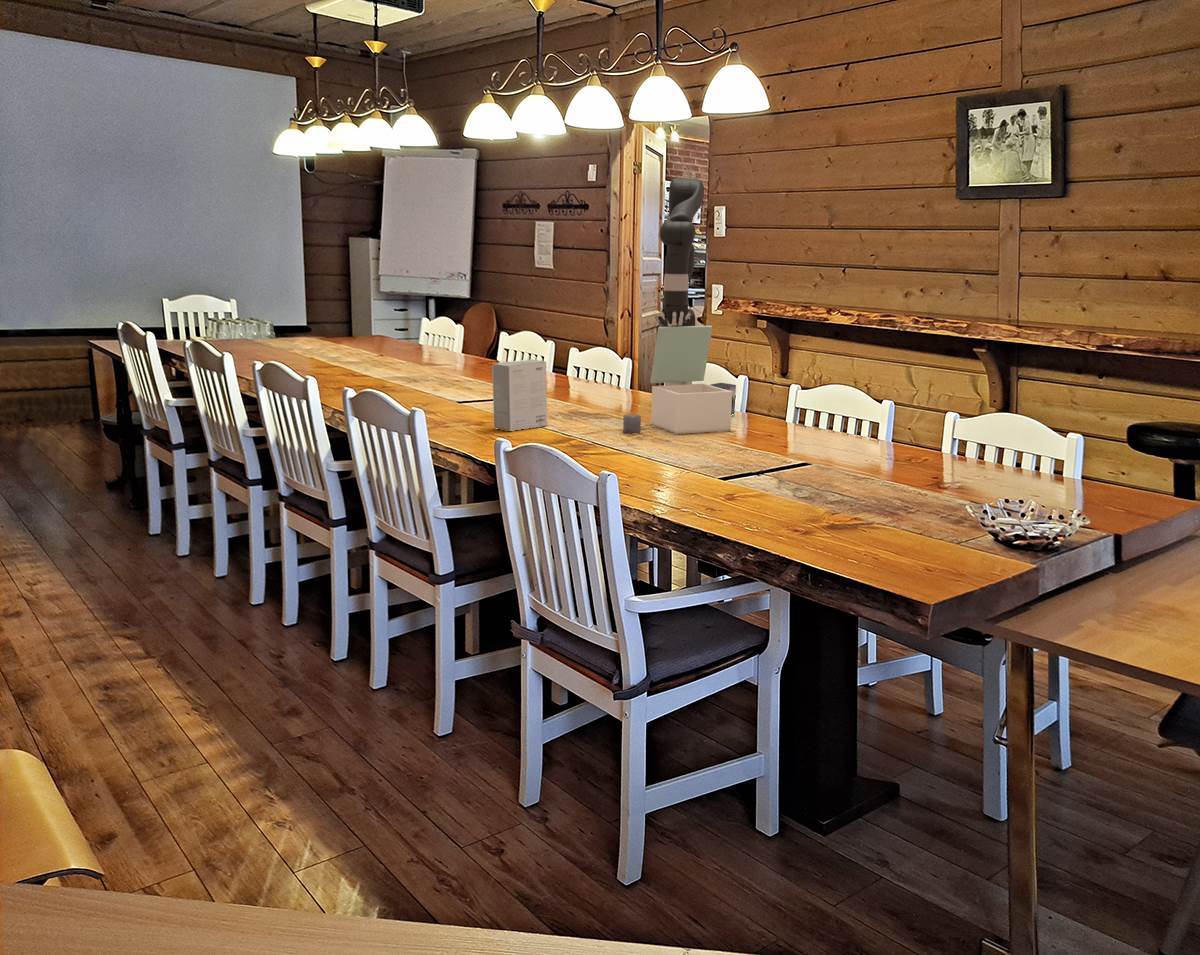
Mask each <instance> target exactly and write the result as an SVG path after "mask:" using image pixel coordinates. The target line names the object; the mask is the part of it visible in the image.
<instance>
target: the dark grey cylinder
mask: <svg viewBox="0 0 1200 955" xmlns="http://www.w3.org/2000/svg"><path fill="white" fill-rule="evenodd" d="M641 419H642V415H640V414H634V413H633V414H631V413H630V414H624V415H623V419H622V420H623V422H622V423H623V424H622V427H623V428H622V430H623V431H622V433H623V432H624V433H623V434H626V433H630V434H629V435H634V434H633V433H638V434H641V433H640V432H642V429H641V427H642V426H641V425H642V424H641V423H642V420H641Z"/></svg>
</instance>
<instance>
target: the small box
mask: <svg viewBox="0 0 1200 955" xmlns="http://www.w3.org/2000/svg"><path fill="white" fill-rule="evenodd" d="M710 385H711V386H714V387H718V388H721V389H725V390H728V391H732V407H731V415H732V414H734V415H735V413H736V412H735V411H736V407H735V406H736V391H737V388H736V387H737V384H732V383H728V382H727V383H725V382H716V383H711V384H710Z"/></svg>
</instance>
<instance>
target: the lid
mask: <svg viewBox="0 0 1200 955" xmlns="http://www.w3.org/2000/svg"><path fill="white" fill-rule="evenodd" d="M713 329H714V328H713V325H695V326H677V327H661V326H657V335H656V341H655V347H654V348H655V349H654V355H653V360H652V361H653V362H652V368H651V369H652V370H651V376H650V384H665V383H671V382H692V383H693V382H705V381H704V380H705V375H706V369H707V368H706V367H707V362H708V356H709V353H710V351H709V350H710V345H711V338H712V333H713Z"/></svg>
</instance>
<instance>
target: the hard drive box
mask: <svg viewBox="0 0 1200 955" xmlns="http://www.w3.org/2000/svg"><path fill="white" fill-rule="evenodd" d="M491 366H492V368H491V370H492V372H491V374H492V400H493V401H492V402H493V404H492V405H493V409H492V410H493V428H494V427H495V428H498V429H502V430H505V431H504V432H507V431H512V432H516V431H515V430H519V431H522V430H521V429H524V430H528V429H529V428H530V429H534V428H535V429H537V428H541V427H547V426H548V406H547V404H548V401H547V397H548V396H547V392H548V391H547V389H548V388H547V384H548V383H547V361H545V360H538V359H530V358H529V359H522V360H521V359H520V360H514V361H504V362H499V363H492V364H491ZM536 427H537V428H536ZM502 430H501V431H502Z"/></svg>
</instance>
